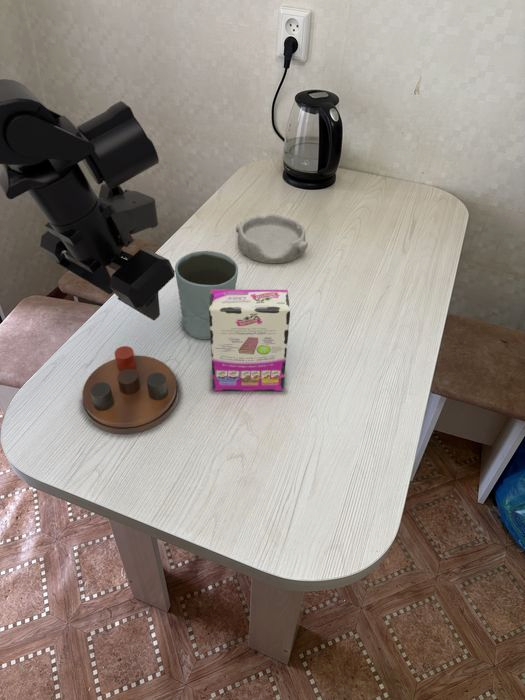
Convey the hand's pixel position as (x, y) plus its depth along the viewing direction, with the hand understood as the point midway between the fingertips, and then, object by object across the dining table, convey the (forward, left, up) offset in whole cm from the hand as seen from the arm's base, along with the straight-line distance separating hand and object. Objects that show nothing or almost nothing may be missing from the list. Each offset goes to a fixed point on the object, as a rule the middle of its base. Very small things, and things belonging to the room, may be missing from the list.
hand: (133, 304), depth 66 cm
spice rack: (-3, 0, -16) cm, 16 cm away
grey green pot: (+12, +14, -17) cm, 26 cm away
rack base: (-3, 0, -17) cm, 18 cm away
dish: (+30, +35, -17) cm, 49 cm away
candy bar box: (+15, -1, -18) cm, 23 cm away
